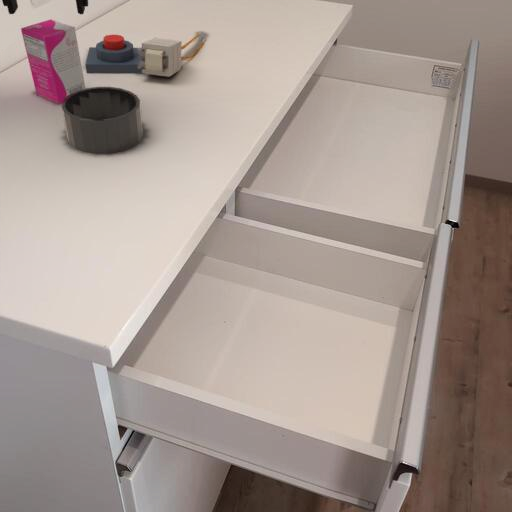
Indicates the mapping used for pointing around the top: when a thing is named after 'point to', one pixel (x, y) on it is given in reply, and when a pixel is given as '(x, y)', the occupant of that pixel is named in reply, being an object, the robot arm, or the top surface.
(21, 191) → the top surface
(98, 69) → the button housing
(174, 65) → the electrical component
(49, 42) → the supplement box
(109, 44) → the power button
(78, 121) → the dark grey round bin
